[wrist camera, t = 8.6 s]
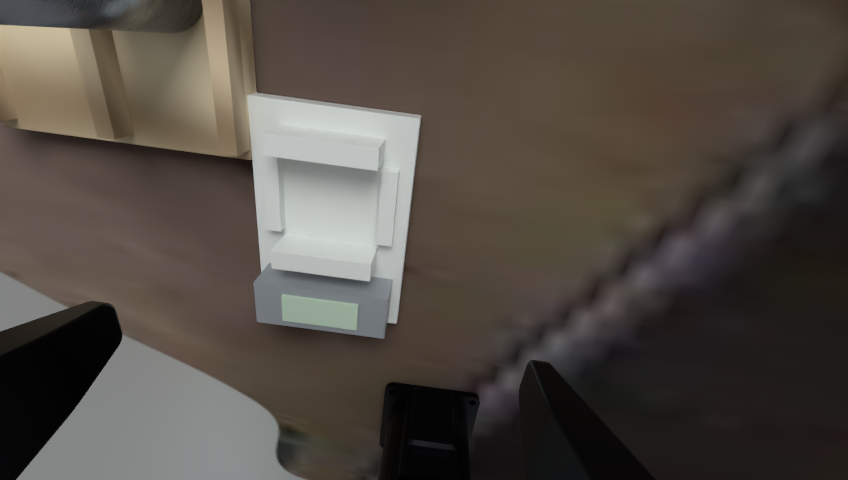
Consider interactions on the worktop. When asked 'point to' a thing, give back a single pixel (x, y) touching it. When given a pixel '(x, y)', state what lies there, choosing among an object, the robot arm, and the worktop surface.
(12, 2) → the cell
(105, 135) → the wooden tray
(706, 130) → the worktop surface
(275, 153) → the cradle
